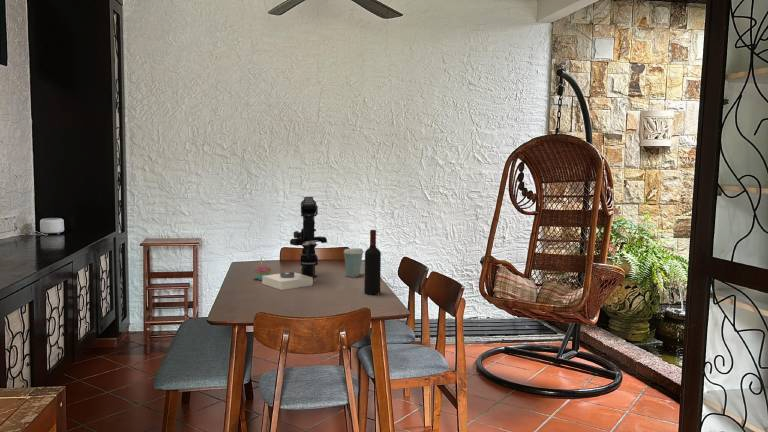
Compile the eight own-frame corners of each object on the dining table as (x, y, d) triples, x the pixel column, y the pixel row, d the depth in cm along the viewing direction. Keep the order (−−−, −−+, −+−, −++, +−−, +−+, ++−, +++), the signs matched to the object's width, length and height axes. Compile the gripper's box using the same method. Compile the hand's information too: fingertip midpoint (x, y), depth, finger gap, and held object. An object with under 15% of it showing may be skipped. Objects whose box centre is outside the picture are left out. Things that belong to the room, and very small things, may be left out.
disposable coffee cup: (339, 276, 335) (340, 249, 334) (348, 273, 345) (348, 246, 343) (358, 278, 331) (358, 250, 330) (366, 275, 341) (366, 247, 340)
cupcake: (267, 281, 321) (267, 258, 320) (251, 280, 322) (251, 257, 321) (273, 278, 329) (273, 255, 328) (258, 277, 331) (258, 254, 330)
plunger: (289, 282, 318) (289, 270, 318) (297, 284, 313) (297, 272, 313) (277, 284, 314) (277, 272, 313) (285, 286, 309) (285, 274, 308)
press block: (292, 279, 326) (292, 271, 326) (312, 285, 313) (312, 277, 312) (262, 283, 314) (262, 275, 314) (281, 290, 301) (281, 281, 300)
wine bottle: (368, 295, 291) (369, 231, 288) (361, 292, 298) (362, 229, 295) (383, 294, 295) (384, 230, 292) (375, 291, 301) (376, 228, 298)
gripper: (315, 224, 326) (314, 254, 328) (284, 226, 314) (284, 257, 316) (327, 226, 318) (327, 256, 319) (296, 228, 306) (296, 260, 307)
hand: (308, 257), depth 316 cm, fingers closed
